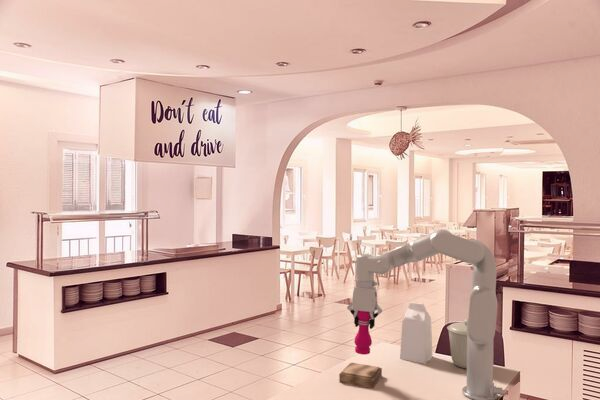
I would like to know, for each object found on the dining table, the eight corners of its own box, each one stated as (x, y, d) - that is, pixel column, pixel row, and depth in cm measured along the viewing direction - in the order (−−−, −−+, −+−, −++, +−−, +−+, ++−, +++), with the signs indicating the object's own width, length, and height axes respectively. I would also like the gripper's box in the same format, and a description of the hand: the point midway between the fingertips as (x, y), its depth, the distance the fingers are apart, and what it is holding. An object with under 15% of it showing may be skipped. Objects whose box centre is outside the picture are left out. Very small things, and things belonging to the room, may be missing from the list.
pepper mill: (370, 356, 192) (373, 307, 191) (352, 353, 193) (355, 306, 193) (371, 350, 199) (374, 303, 198) (354, 348, 200) (357, 301, 200)
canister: (484, 375, 200) (485, 326, 200) (442, 367, 209) (442, 320, 209) (492, 363, 215) (492, 317, 215) (452, 355, 225) (452, 312, 224)
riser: (381, 376, 198) (381, 366, 198) (372, 388, 185) (372, 378, 185) (350, 370, 204) (350, 361, 204) (339, 382, 191) (339, 372, 191)
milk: (432, 356, 223) (433, 302, 223) (425, 363, 214) (425, 307, 213) (408, 352, 230) (408, 299, 230) (399, 358, 220) (400, 303, 220)
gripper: (387, 284, 195) (386, 327, 195) (348, 280, 202) (347, 322, 202) (382, 287, 188) (381, 332, 188) (342, 283, 196) (341, 326, 196)
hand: (364, 326), depth 195 cm, fingers closed on pepper mill, 5 cm apart
